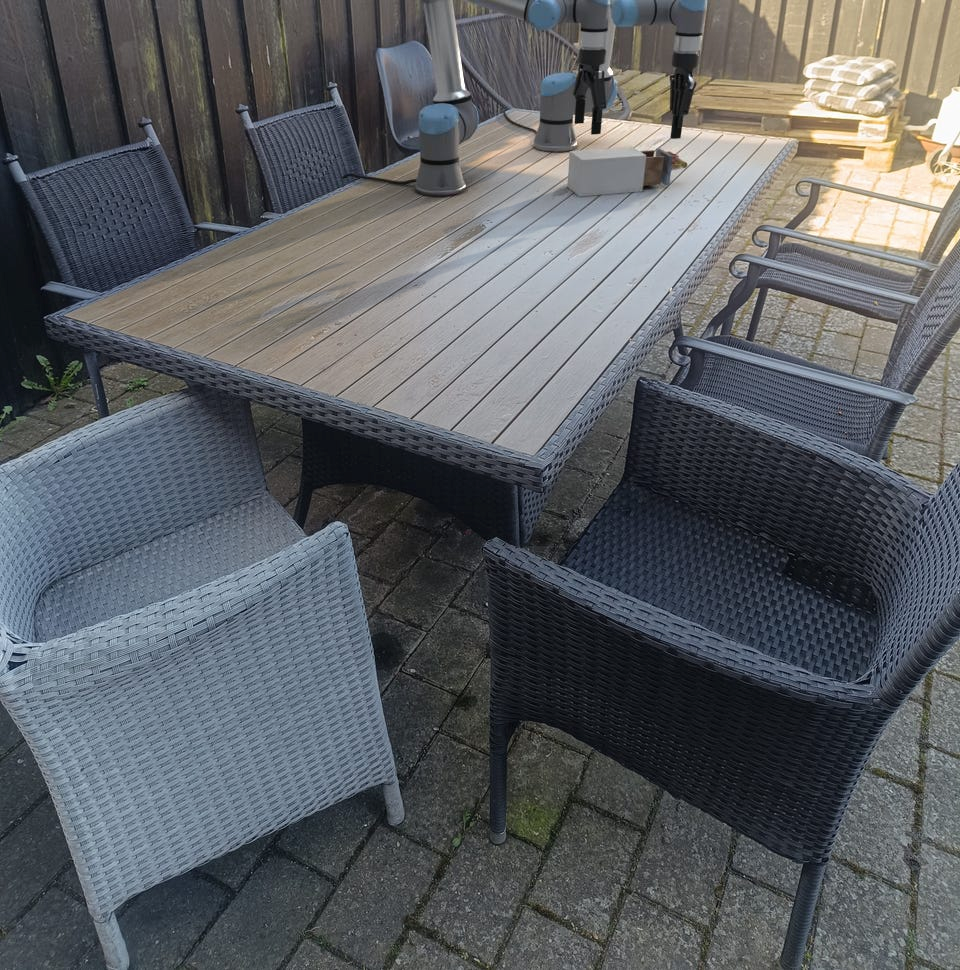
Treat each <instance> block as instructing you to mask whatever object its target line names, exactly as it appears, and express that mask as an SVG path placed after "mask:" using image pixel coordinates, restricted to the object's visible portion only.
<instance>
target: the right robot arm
mask: <svg viewBox="0 0 960 970" xmlns="http://www.w3.org/2000/svg"><path fill="white" fill-rule="evenodd" d="M707 7H708V6H707V0H610V10H609V20H608V32H607V34H608V35H609V36H608V38H607V45H606V47H604V49H606V60H605V63H604V64H602V65H600V66H599V67H600V71H604V83H605V95H606V109H603V110H602V112H605V111H608V110H609V109H610V108H611V107H612V106H613V105H614V104H615V101H616V98H617V94H618V86H617V83H618V82H617V79H616V77H615V76H614V75H613V74H614V71H613V70H612V69H611V67H610V65H611V59H612V52H613V46H614V39H615V33H616V27H618V28H619V27H620V28H622V27H623V28H632V27H644V26H662V25H665V26H666V25H671V26H675V34H674V39H673V40H674V42H673V51H674V52H673V53H672V58H671V66H672V67H673V68H675V69H674V73H673V74H669V84H670V85H669V111H670V112H671V115H672V122H671V128H670V137H669V138H670V139H672V140H676V139H677V140H678V139H679V140H680V139H681V138H682V131H683V124H684V117H685V116H688V114H689V111H690V108H691V104H692V100H693V96H694V91H695V89H696V87H697V81H694V79H693V78H694V69H696V68H698V67H699V61H700V52H699V51H701V46H702V45H701V44H702V41H703V38H702V37H703V31H704V24H705V18H706V12H707V11H706V10H707ZM576 79H577V75H576V74H574V73H572V72H557V73H553V74H549V75H547V76H545V77H544V78H543V79H542V80H541V85H540V92H539V95H540V101H539V103H540V105H539V125H538V127H537V130H536V129H534V128H531V127H528V126H525V125H523V124H520V123H517V122H515V121H513V120H512V119H510V117H508V115H507V113H506V111H504V110H503V111H502V113H503V115H504V117H505V119H506V120H507V121H508V122H510V123H511V124H512V125H515V126H517V127H519V128H522V129H524V130H528V131H530V132H533V133H535V136H534V140H533V148H534V149H536V150H538V151H543V152H550V153H563V152H570V151H574V150H575V149H577V145H578V144H577V143H578V141H577V135H576V132H575V129H574V128H575V127H574V115H575V106H576V99H575V96H574V95H573V91H574V87H575V83H576ZM585 96H586V99H585V113H584V114H590V113H592V108H593V107H594V105H593V99H592V94H591V89H590V88H589V87H588V90H587V92H586V94H585ZM582 100H584V99H582Z"/></svg>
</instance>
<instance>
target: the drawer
mask: <svg viewBox="0 0 960 970" xmlns="http://www.w3.org/2000/svg"><path fill="white" fill-rule="evenodd" d="M639 151H640V152H642V153H643V154H645V155H646V163H645V172H644V181H643V187H644V186H645V187H646V186H657V185H661V184H662V185H664V186H666V187H667V186H668V187H669V186H670V181H671V175H672V168H677V167H678V168H683V169H686V168H687V167H688V163H687V162H686V161H684V160H683V159H681V158H680V157H679V158H680V159H679V158H675V159H674V160H673V156H672V155H670V154H669V153H667V152H668V151H665V150H664V149H662V148H656V150H652V149H651V150H639ZM672 162H674V163H676V164H673V165H672ZM679 166H680V167H679Z"/></svg>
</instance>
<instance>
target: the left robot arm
mask: <svg viewBox="0 0 960 970" xmlns="http://www.w3.org/2000/svg"><path fill="white" fill-rule="evenodd" d="M419 1H420V2H421V3H422V5H423V12H424V13H423V14H424V19H425V26H426V33H427V39H428V44H429V51H430V57H431V62H432V70H433V76H434V83H435V90H436V94H435V96H434V97H433V98H432V101H433V104H429V105H425V106H424V107H422V109H420V111H419V113H418V122H417V124H418V136H419V138H418V139H419V157H420V158H419V159H420V161H419V162H420V164H419V168H418V172H417V176H416V178H413V179H407V180H393V179H387V178H381V177H376V176H375V177H374V176H368V175H362V174H357V173H354V172H348V173H345V174H344V175H343V176H342V177H341V180H345V179H347V178H348V177H354V178H358V179H360V180H361V179H362V180H369V181H375V182H380V183H381V182H382V183H387V184H392V185H393V184H394V185H401V186H402V185H403V186H404V185H409V184H413V183H415V185H414V186H415V192H417V193H418V194H420V195H424V196H430V197H450V196H455V195H459V194H461V193H463V192H464V191H466V181H465V179H464V176H463V172H462V169H461V165H460V145H461V144H463V143H464V142H467V141H468V140H470V139H471V138H472V137H473V136H474V134H475V133H476V131H477V129H478V127H479V123H480V116H479V111H478V108H477V107H476V105H475V104H474V103H473V101H472V100H473V99H472V94H471V92H470V91H468V89H466V87H465V86H466V85H465V80H464V73H463V65H462V59H461V58H462V57H461V51H460V44H459V37H458V29H457V23H456V15H455V8H454V1H453V0H419ZM463 1H464V2H467V3H470V4H474V5H476V6H479V7H482V8H485V9H488V10H490V11H493V12H496V13H499V14H502V15H505V16H508V17H512V18H515V19H517V20H520V21H523V22H526V23H528V24H531V25H532V26H533V28H535V29H536V30H538V31H548V30H551V29H553V28H554V27H556V26H558V25H560V24H562V23H564V24H580V30H579V42H578V43H579V44H578V45H579V47H580V48H579V50H578V63H579V64H578V69H577V75H576V77H577V79H576V83H575V87H574V91H573V95H574V96H575V99H576V106H575V114H574V121H573V124H574V125H579V124H584V123H585V114H586V113H585V99H586V96H585V94H586V92H587V90H588V87H589V88H590V89H591V94H592V99H593V105H594V107H593V108H592V112H591V113H592V114H591V127H590V135H601V134H602V133H601V132H602V122H603V121H602V120H603V111H602V110H603V109H606V95H605V83H604V71H600V67H599V66H600V65H602V64H604V63H605V60H606V49H604V47H606V45H607V38H608V36H609V35H608V34H607V32H608V20H609V10H610V0H463ZM582 99H584V100H582Z"/></svg>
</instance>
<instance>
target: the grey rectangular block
mask: <svg viewBox="0 0 960 970" xmlns="http://www.w3.org/2000/svg"><path fill="white" fill-rule="evenodd" d="M640 151H641V150H638V149H637V148H635V147H634V146H624V147H622V146H621V147H609V148H608V147H607V148H595V149H581V150H579V149H578V150H570V151H569V153H568V154H569V155H568V156H569V157H568V171H567V188H568V189H569V190H571V191H572V192H573V193H574V194H575V195H576V196H578V197H589V196H590V197H591V196H602V195H603V196H604V195H614V194H627V193H639V192H640V193H641V192H643V188H644V186H643V181H644V172H645V163H646V155H645V154H643V153H642V152H640Z"/></svg>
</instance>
